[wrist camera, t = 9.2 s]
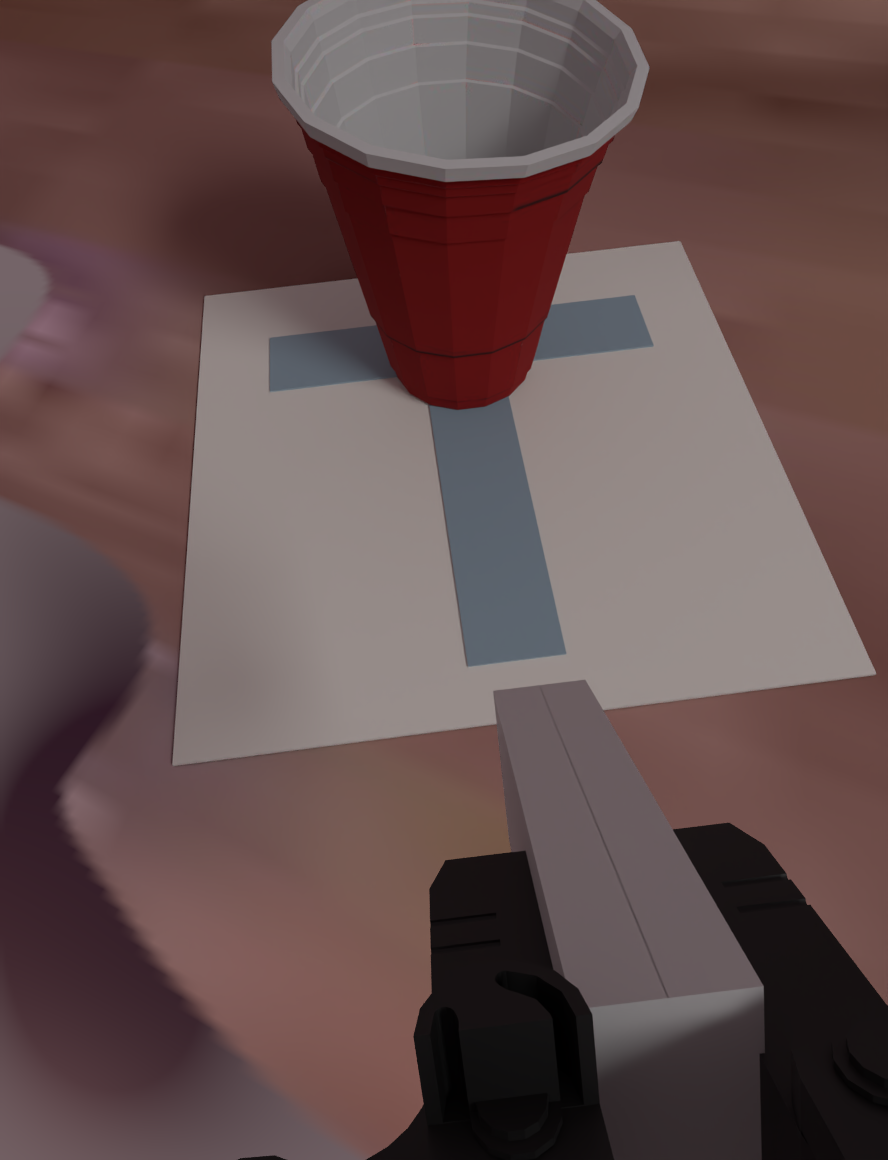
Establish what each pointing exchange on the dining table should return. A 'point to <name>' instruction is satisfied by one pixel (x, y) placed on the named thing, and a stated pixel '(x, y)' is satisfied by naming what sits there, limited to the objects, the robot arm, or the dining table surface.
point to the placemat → (486, 522)
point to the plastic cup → (458, 165)
